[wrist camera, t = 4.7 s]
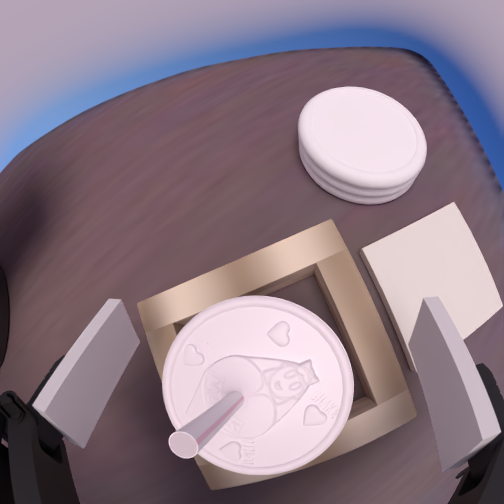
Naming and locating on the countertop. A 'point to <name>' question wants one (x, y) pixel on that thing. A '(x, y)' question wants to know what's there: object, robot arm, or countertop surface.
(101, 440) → the countertop surface
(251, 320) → the smoothie
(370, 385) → the square wooden frame
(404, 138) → the coaster
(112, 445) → the countertop surface
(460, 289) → the tile
